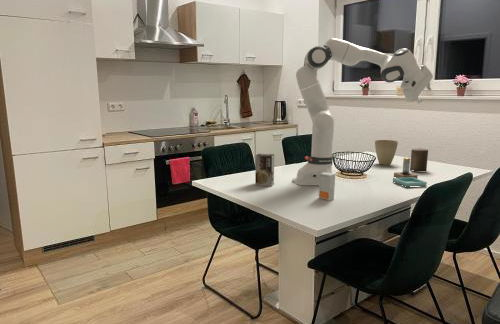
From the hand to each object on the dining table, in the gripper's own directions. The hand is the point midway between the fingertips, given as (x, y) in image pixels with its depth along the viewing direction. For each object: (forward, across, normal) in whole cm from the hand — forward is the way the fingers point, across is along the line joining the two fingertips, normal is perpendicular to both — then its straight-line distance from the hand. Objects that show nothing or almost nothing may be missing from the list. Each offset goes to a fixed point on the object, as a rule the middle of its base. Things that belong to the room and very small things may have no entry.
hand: (424, 96), depth 206 cm
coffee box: (-18, +89, -36) cm, 98 cm away
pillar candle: (+51, +11, -22) cm, 57 cm away
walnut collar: (+34, +31, -10) cm, 47 cm away
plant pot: (+48, +12, -47) cm, 68 cm away
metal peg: (+34, +31, -10) cm, 47 cm away
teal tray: (+29, +38, 0) cm, 48 cm away
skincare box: (-9, +81, 0) cm, 82 cm away
